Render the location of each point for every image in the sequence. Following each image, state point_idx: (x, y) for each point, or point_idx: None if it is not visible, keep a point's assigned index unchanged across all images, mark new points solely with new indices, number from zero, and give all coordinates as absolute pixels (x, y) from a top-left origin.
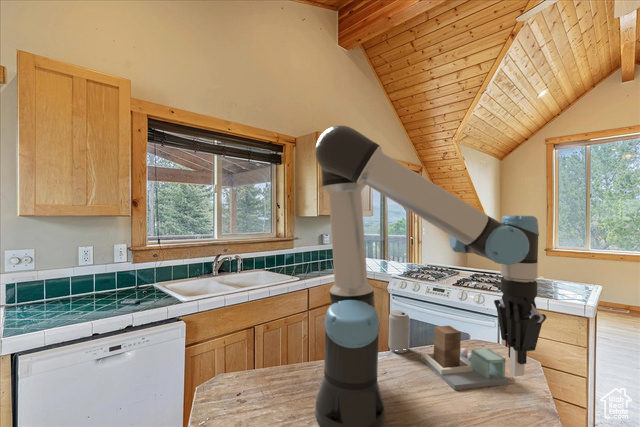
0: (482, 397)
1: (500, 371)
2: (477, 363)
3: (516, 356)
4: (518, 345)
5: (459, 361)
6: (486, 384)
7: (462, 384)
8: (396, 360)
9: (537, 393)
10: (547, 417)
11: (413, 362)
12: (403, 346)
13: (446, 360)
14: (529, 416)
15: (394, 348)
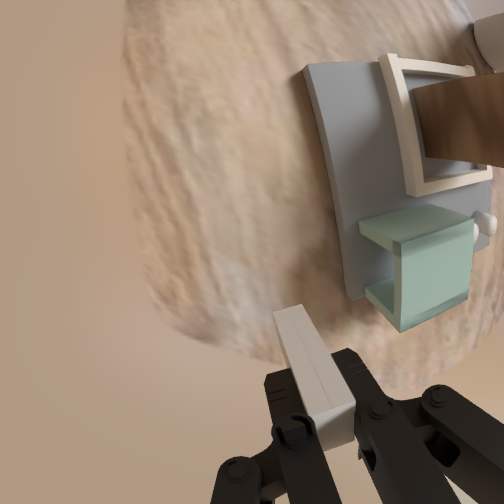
0: (261, 153)
1: (379, 291)
2: (421, 216)
3: (299, 387)
4: (297, 460)
5: (441, 157)
6: (336, 208)
7: (317, 98)
8: (437, 2)
9: None
10: (172, 319)
11: (441, 39)
12: (488, 39)
13: (435, 94)
14: (166, 268)
15: (478, 21)
